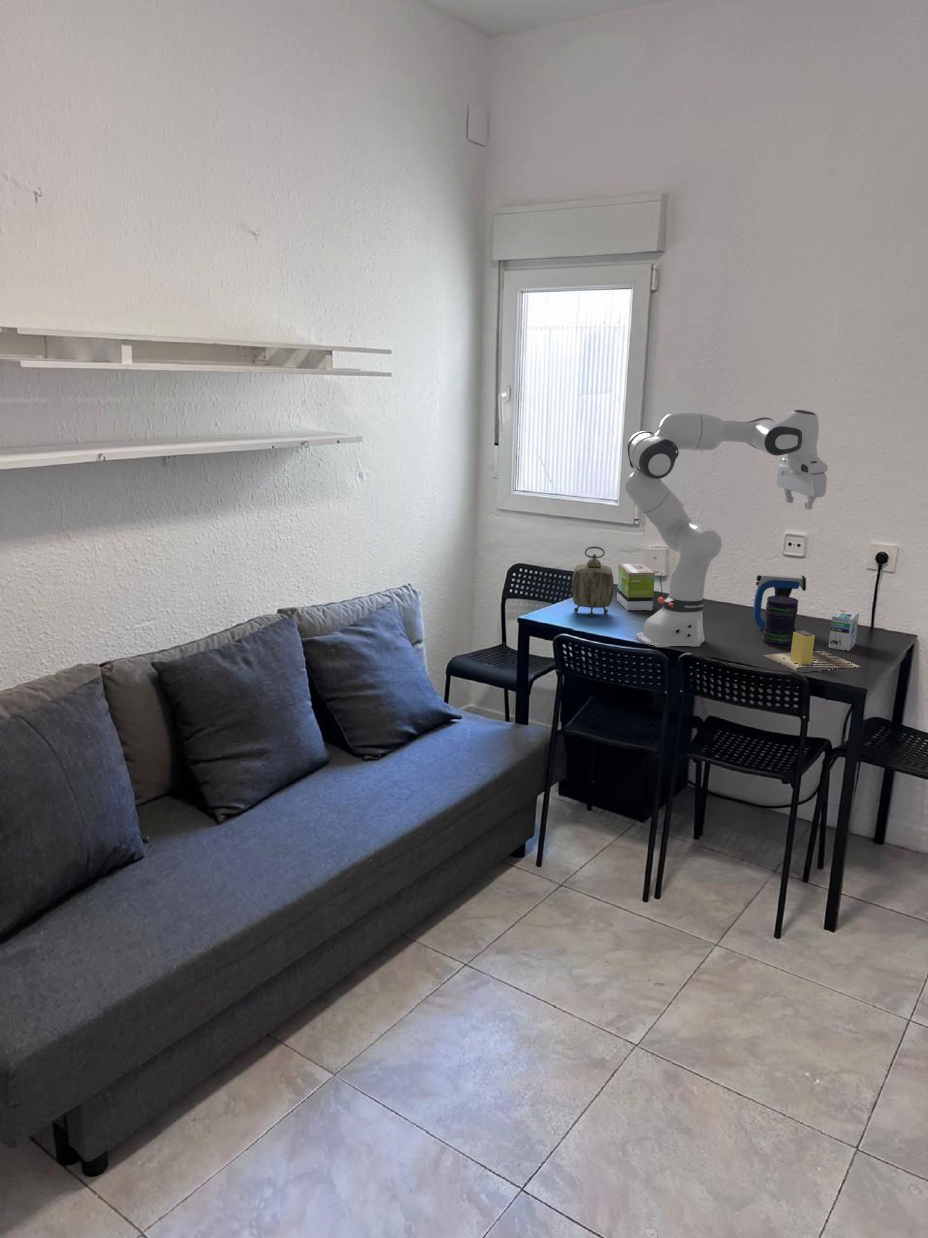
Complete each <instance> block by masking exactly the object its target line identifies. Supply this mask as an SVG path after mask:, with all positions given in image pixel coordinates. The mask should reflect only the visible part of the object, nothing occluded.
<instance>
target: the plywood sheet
mask: <svg viewBox="0 0 928 1238" xmlns="http://www.w3.org/2000/svg"><path fill="white" fill-rule="evenodd" d="M813 652H814V653H813V655H814V656H812V658H830V659H812V660H816V661H812V662H814V663H818V662H819V663H842V664H818V665H827V666H813V667H826V668H827V667H831V668H833V667H834V668H835V667H837V668H841V667H842V668H843V667H844V668H847V669H854V667H856V668H861V666H859V665H858V664H855V663H853V662H851V661H848V660H846V659H843V658H842V657H839V656H836V655H834V656H828V655H833V654H832V653H830V652H827V651H825V650H823V651H813ZM820 652H822V653H820ZM815 655H818V656H815ZM820 655H826V656H820ZM763 656H764V657H766V658H767V659H770V660H772V661H774V662H776V663H779V664H780V663H781V665H783V666H784V665H785V667H787V668H789V669H791V670H793V671H795V672H797V670H796V668H798V667H807V666H801V665H800V664H794V663H795V662H793V661H791V660H790V656H791V652H784V653H783V652H781V653H772V654H763ZM783 658H785V659H783ZM833 658H839V659H833ZM818 660H823V661H818ZM844 663H845V664H844ZM847 663H850V664H847ZM851 663H852V664H851ZM786 665H787V666H786ZM799 665H800V666H799ZM809 665H810V664H809ZM813 665H817V664H813ZM828 665H834V666H828ZM835 665H837V666H835ZM838 665H840V666H838ZM843 665H844V666H843ZM846 665H847V666H846ZM851 665H852V666H851ZM808 667H809V666H808ZM819 670H820V669H819ZM821 670H822V669H821ZM828 671H834V670H833V669H832V670H830V669H828Z"/></svg>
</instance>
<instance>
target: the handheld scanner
mask: <svg viewBox="0 0 928 1238" xmlns="http://www.w3.org/2000/svg"><path fill="white" fill-rule="evenodd" d="M755 585H756V586H757V588H756V590H755V594H754V600H753V608H752V609H753V618H754V621H755V623H756V625H757V626H758V627H759V628H760V629H761V630H763V631H764V626H765V621H766V620H764V619H763V618H762V617H761V616H762V615H761V613H762V603H763V597H764V594H765V592H766V591H767V589H768V590H769V589H770V588H771V589H772V588H774V596H786V597H791V593H792V591H793V589H795V590H799V588H800V587H801V589H802V591H804V592H806V590H807V578H806V576H805V575H801V576H791V575H790V576H789V575H780V574H779V575H778V574H776V575H774V574H761V575H759V574H758V575H757V576H756V582H755ZM794 628H795V629H796V626H795V627H794Z"/></svg>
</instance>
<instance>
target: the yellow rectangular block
mask: <svg viewBox="0 0 928 1238" xmlns="http://www.w3.org/2000/svg"><path fill="white" fill-rule="evenodd" d="M815 637H816V635H814V634H813V633H811V632H809V631H808V632H807V631H806V630H795V632H793V639H792V647H790V653H791V656H790V660H791V661H793V662H795V663H798V664H800V665H804V664H811V662H812V655H813V650H814V646H815Z"/></svg>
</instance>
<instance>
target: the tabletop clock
mask: <svg viewBox="0 0 928 1238" xmlns="http://www.w3.org/2000/svg"><path fill="white" fill-rule="evenodd" d="M591 549H592V550H593V549H597V550H601V551H602V553H603V554H601V555H599V556H597V554H595V553H594V554H593V555H588V554H587V552H588V550H591ZM584 554H585V556H586V557H587V558H589V560H588V561H587V563H583V564H579V565H576V566H575V568H574V570H573V575H572V581H571V582H572V583H571V587H572V588H571V590H572V599H573V600H572V601H573V603H574V605H575V606H577V607H574V609H573V612H574V613H578V612H579V608H580V607H582V608H588V609H589V608H590V612H589V613H588V615H589V617H591V616H592V617H594V615H595V614H594V612H593V610H594V609H597V608H598V609H599V608H601V609H602V608H603V614H608V613H609V610H608V609H606V607H609V606H610V605H611V603H612V600H613V597H614V596H613V595H614V585H615V584H614V583H615V582H614V575H613V574H614V573H613V571H612V568H611V567H610V566H608V565H605V564H602V563H601V561H600V560H599V559H600V558H603V557H604V556H605V554H606V553H605V550H604V549H603V548H602V547H600V546H589V547H587V548H586V549H585V551H584Z"/></svg>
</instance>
